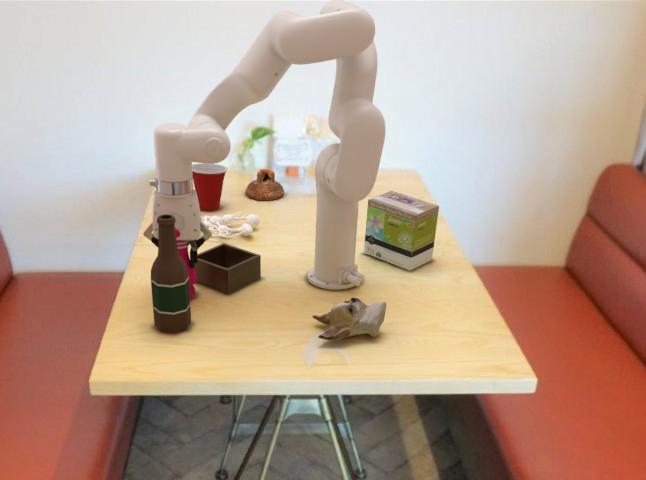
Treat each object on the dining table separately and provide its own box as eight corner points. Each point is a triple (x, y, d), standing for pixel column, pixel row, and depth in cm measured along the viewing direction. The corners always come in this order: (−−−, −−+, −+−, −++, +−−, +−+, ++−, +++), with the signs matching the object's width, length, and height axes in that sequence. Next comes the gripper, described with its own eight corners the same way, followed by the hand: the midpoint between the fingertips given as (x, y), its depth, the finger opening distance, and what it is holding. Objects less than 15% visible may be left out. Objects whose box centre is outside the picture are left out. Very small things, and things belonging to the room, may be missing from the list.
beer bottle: (175, 337, 166) (168, 226, 153) (146, 327, 169) (137, 218, 156) (198, 323, 171) (193, 215, 158) (170, 313, 175) (163, 207, 162)
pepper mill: (181, 304, 179) (176, 218, 168) (158, 295, 182) (152, 210, 171) (203, 294, 183) (200, 209, 173) (180, 285, 187) (175, 202, 176)
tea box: (362, 254, 205) (366, 198, 197) (386, 244, 211) (391, 189, 203) (410, 272, 197) (416, 213, 189) (433, 260, 203) (440, 203, 195)
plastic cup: (236, 206, 233) (235, 165, 226) (213, 216, 225) (211, 174, 219) (206, 198, 238) (204, 158, 231) (183, 209, 230) (180, 167, 223)
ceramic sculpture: (392, 306, 160) (317, 312, 159) (390, 344, 165) (318, 350, 164) (381, 284, 169) (311, 290, 168) (380, 321, 174) (312, 326, 173)
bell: (288, 190, 246) (288, 166, 242) (278, 202, 236) (278, 178, 232) (251, 186, 248) (251, 162, 244) (240, 198, 238) (240, 174, 234)
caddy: (260, 278, 191) (260, 255, 188) (228, 294, 183) (227, 270, 180) (224, 265, 197) (223, 242, 194) (191, 280, 189) (190, 257, 186)
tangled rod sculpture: (177, 241, 212) (176, 227, 210) (195, 218, 223) (193, 204, 221) (248, 247, 209) (247, 233, 206) (262, 224, 220) (261, 209, 217)
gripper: (131, 190, 166) (138, 271, 176) (214, 192, 166) (216, 273, 176) (137, 179, 172) (143, 258, 182) (217, 180, 172) (219, 259, 182)
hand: (179, 264), depth 179 cm, fingers closed on pepper mill, 5 cm apart
